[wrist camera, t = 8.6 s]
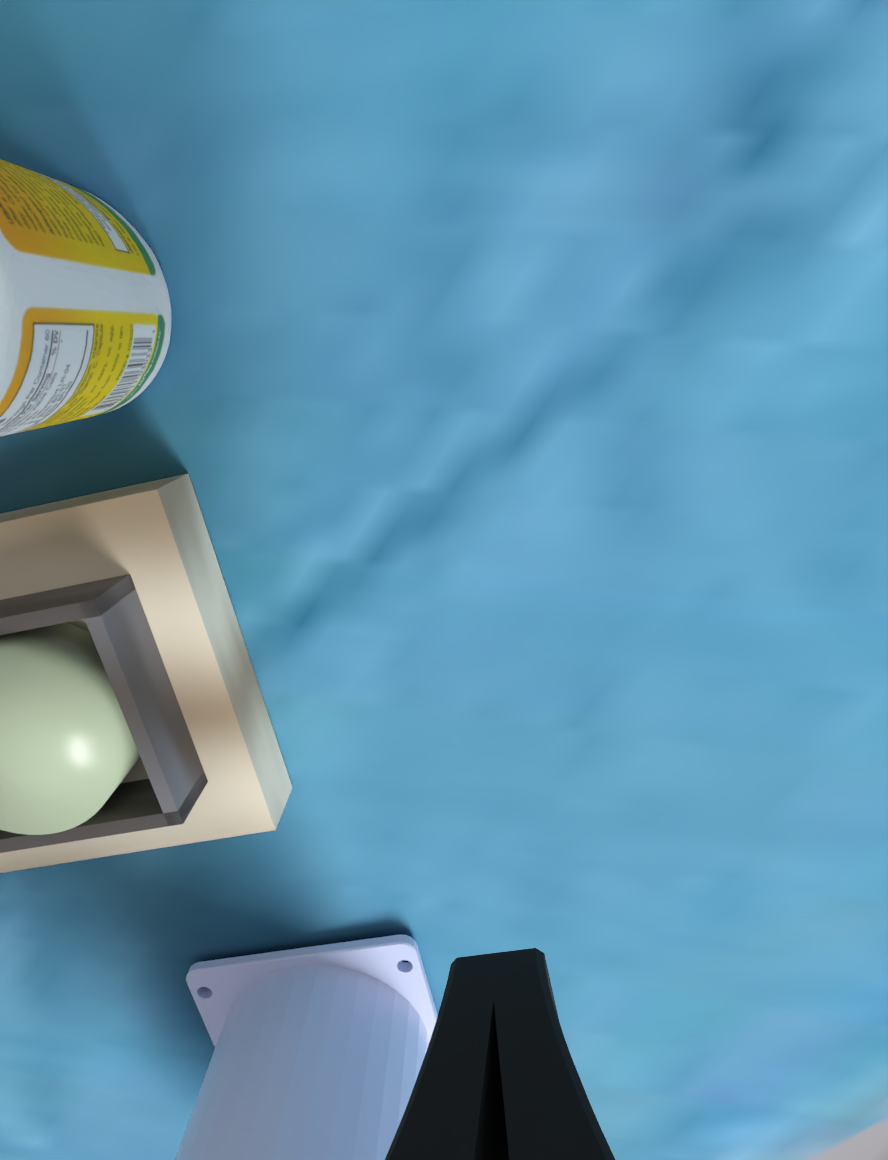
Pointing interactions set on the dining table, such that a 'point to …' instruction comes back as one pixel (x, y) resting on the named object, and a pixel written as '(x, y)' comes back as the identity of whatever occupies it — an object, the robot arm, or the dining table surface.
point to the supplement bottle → (73, 304)
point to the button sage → (57, 731)
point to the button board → (148, 667)
